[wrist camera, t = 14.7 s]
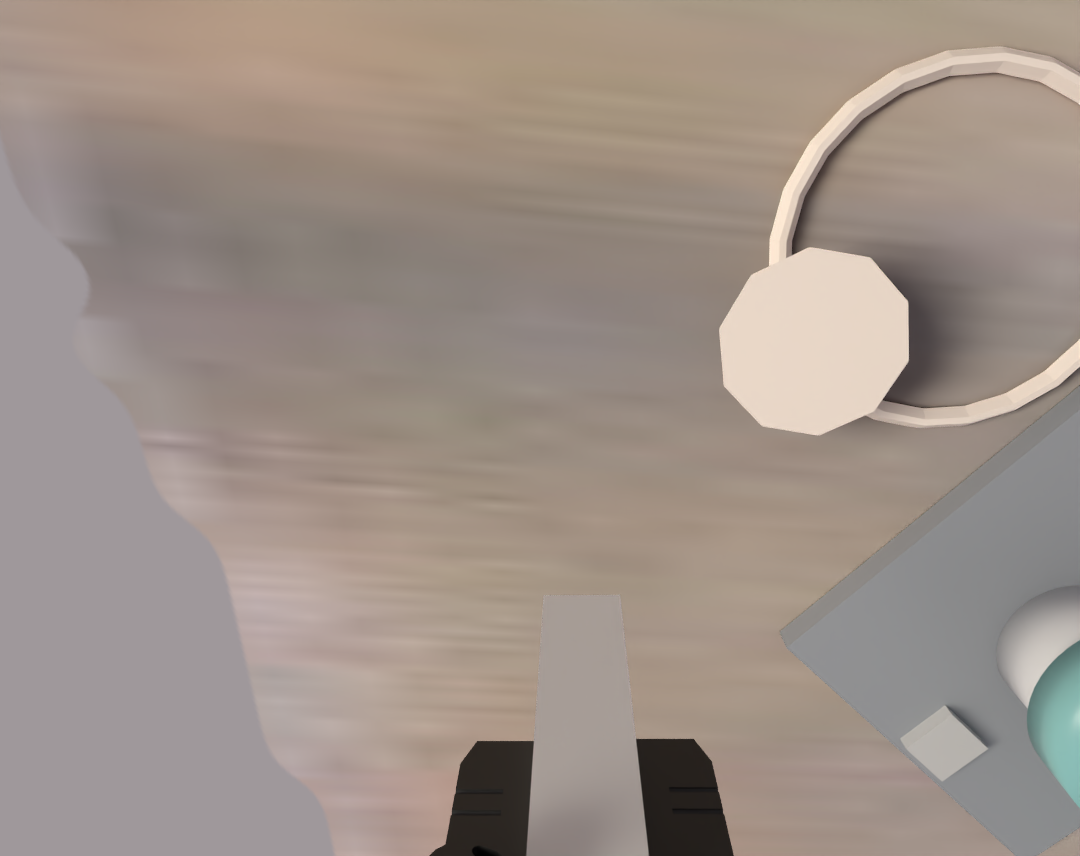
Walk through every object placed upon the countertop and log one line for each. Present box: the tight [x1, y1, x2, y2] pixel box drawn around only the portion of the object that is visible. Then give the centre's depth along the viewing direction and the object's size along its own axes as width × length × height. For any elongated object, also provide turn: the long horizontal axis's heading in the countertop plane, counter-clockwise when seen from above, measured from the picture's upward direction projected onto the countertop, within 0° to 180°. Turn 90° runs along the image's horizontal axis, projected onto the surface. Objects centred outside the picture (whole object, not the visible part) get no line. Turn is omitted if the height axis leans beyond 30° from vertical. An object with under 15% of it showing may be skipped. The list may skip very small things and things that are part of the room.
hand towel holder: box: [719, 46, 1080, 436], centre depth 36 cm, size 17×4×21 cm
